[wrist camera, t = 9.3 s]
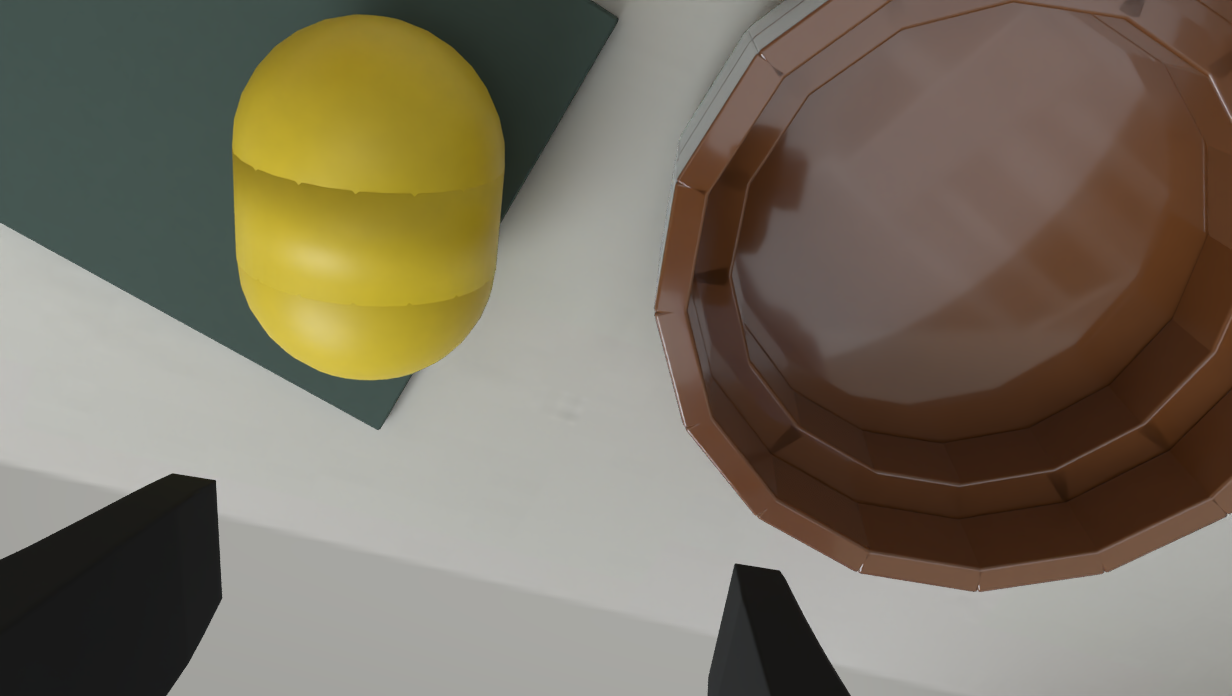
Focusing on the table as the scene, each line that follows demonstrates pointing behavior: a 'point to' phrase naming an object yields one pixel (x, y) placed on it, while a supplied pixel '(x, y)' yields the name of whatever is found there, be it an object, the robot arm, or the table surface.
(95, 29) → the runner
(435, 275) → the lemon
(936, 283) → the bowl
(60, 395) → the table surface
